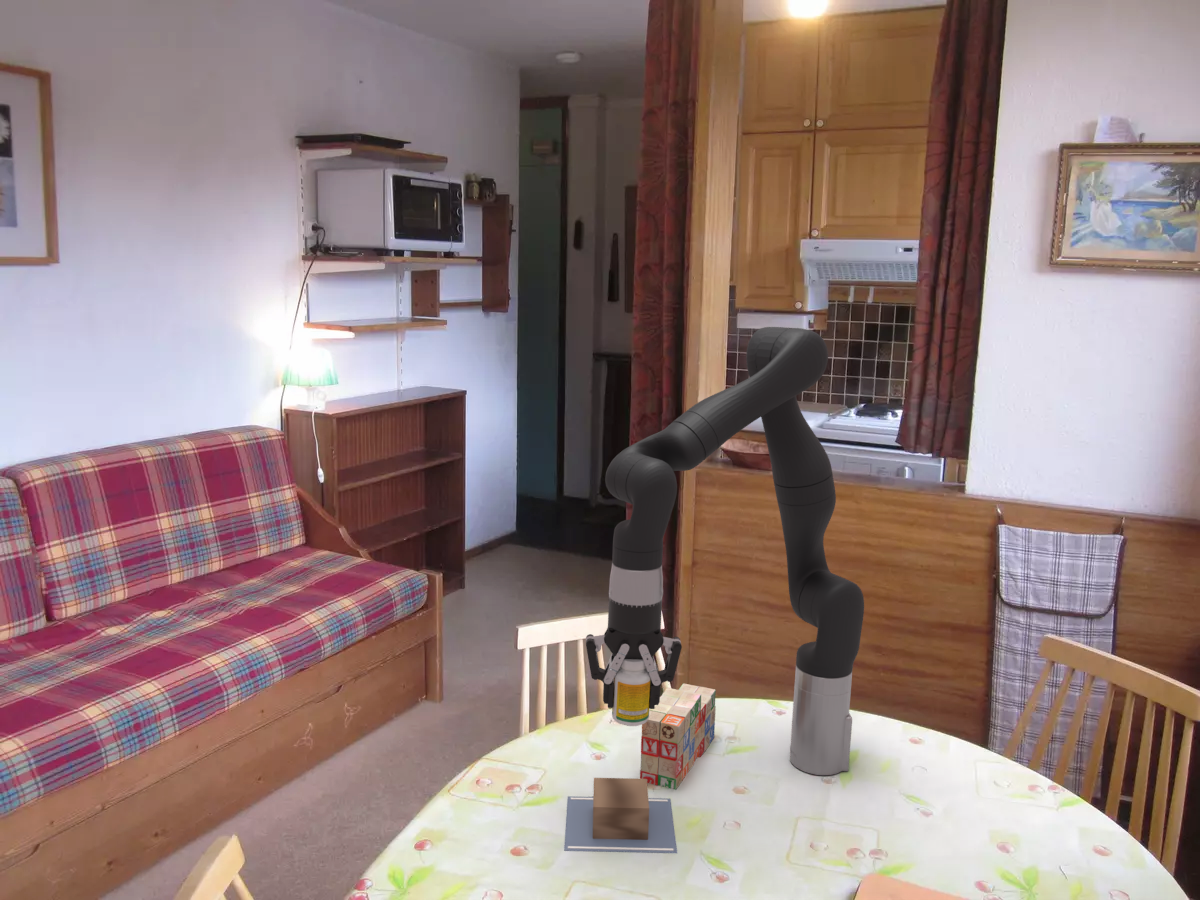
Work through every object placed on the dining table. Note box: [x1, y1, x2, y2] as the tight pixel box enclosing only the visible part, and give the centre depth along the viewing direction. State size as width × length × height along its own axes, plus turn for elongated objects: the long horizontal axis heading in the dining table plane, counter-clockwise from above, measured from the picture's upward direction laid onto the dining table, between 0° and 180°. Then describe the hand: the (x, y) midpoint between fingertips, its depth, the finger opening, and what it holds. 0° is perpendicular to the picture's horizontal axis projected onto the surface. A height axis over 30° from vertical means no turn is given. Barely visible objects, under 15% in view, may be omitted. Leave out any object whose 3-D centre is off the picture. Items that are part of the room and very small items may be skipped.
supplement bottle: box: [611, 659, 651, 727], centre depth 137 cm, size 5×5×10 cm
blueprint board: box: [563, 795, 678, 854], centre depth 142 cm, size 16×14×1 cm
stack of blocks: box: [639, 683, 717, 791], centre depth 161 cm, size 21×6×12 cm, turn 157°
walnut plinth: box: [592, 777, 649, 840], centre depth 141 cm, size 8×8×5 cm
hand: (630, 705), depth 138 cm, fingers closed on supplement bottle, 5 cm apart
